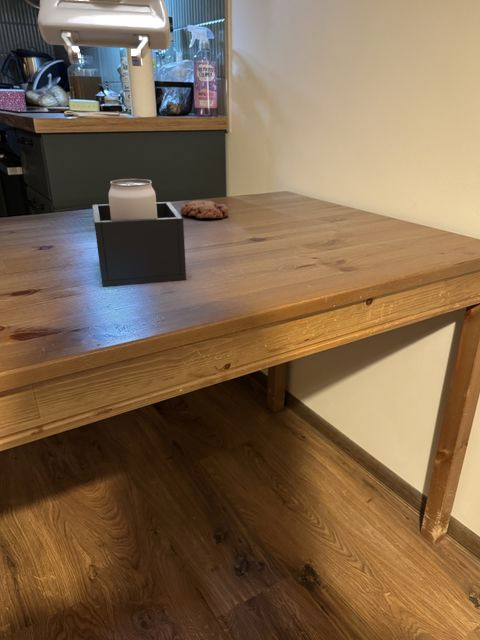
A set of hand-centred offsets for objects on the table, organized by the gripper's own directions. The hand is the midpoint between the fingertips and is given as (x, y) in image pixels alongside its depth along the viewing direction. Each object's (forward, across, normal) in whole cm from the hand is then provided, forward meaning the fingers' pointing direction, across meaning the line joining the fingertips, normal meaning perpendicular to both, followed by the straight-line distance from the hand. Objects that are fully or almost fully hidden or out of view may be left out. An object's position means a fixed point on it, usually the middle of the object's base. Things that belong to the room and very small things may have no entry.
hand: (105, 61), depth 78 cm
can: (+32, +4, +6) cm, 33 cm away
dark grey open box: (+33, +5, +7) cm, 34 cm away
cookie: (+7, +15, +33) cm, 37 cm away
